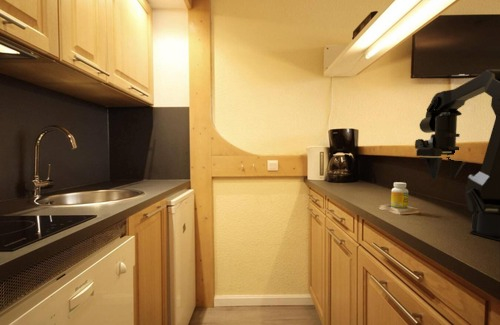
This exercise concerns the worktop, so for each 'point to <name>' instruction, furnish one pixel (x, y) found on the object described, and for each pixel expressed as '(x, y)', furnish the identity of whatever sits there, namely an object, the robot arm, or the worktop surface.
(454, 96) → the robot arm
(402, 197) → the supplement bottle
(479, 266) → the worktop surface
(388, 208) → the tray
